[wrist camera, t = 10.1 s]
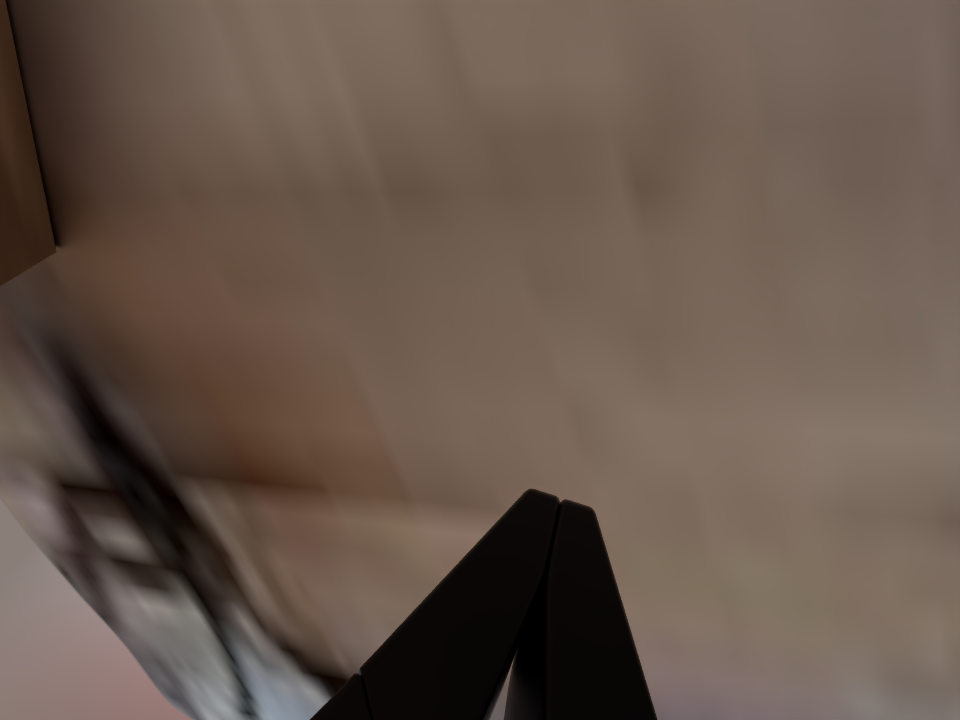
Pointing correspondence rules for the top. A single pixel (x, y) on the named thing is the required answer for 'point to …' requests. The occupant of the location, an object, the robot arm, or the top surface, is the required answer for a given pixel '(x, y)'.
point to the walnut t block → (18, 172)
